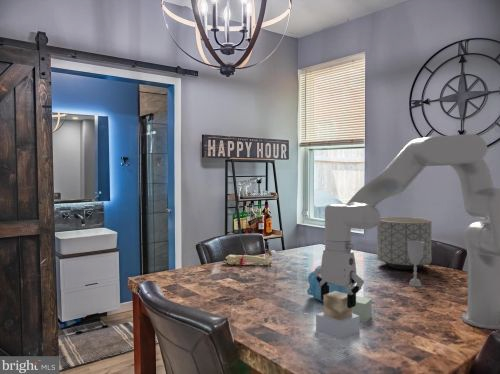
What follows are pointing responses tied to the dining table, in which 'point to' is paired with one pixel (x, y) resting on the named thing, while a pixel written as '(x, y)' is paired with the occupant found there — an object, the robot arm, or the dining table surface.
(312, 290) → the decorative pot
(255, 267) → the dining table surface
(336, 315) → the maple cube
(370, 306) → the sage cube
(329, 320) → the base block
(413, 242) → the chalice
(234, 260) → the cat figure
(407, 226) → the planter
